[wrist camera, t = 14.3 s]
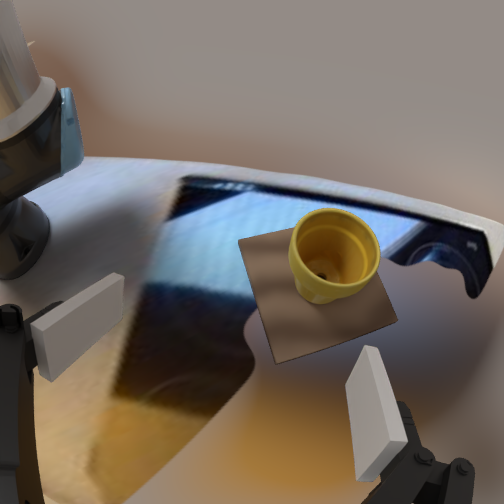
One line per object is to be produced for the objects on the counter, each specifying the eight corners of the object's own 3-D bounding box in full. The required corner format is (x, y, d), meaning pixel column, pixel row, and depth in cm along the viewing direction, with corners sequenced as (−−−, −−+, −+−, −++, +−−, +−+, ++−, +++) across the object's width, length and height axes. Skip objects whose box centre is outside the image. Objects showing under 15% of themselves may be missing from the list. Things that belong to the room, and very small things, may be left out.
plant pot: (325, 236, 45) (343, 194, 36) (368, 292, 41) (398, 259, 32) (266, 268, 42) (273, 228, 34) (309, 331, 38) (330, 306, 29)
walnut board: (238, 244, 45) (238, 239, 44) (347, 219, 48) (349, 215, 47) (275, 364, 37) (276, 363, 36) (394, 322, 40) (398, 320, 39)
